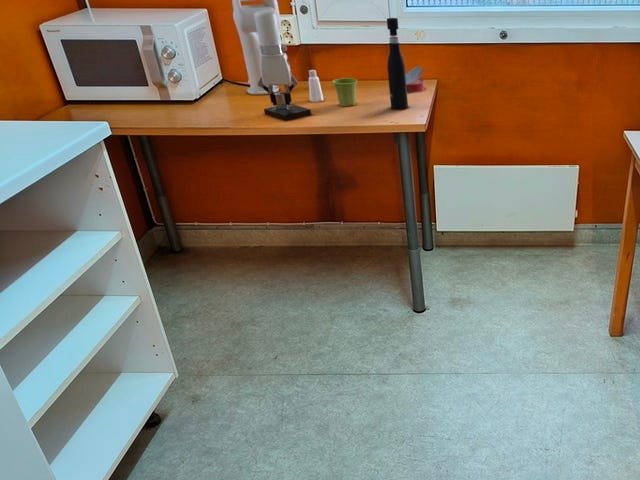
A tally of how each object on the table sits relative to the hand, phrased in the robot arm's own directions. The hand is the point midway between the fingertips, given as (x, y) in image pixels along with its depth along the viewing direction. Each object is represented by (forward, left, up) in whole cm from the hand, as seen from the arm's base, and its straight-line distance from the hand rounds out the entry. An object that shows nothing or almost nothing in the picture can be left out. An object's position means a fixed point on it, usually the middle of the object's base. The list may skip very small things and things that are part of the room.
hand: (281, 103), depth 235 cm
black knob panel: (+3, 0, -3) cm, 4 cm away
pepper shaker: (-7, +20, -4) cm, 21 cm away
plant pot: (+8, +24, -4) cm, 25 cm away
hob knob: (0, 0, -1) cm, 1 cm away
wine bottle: (+27, +34, -4) cm, 43 cm away
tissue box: (+8, +56, -4) cm, 57 cm away
